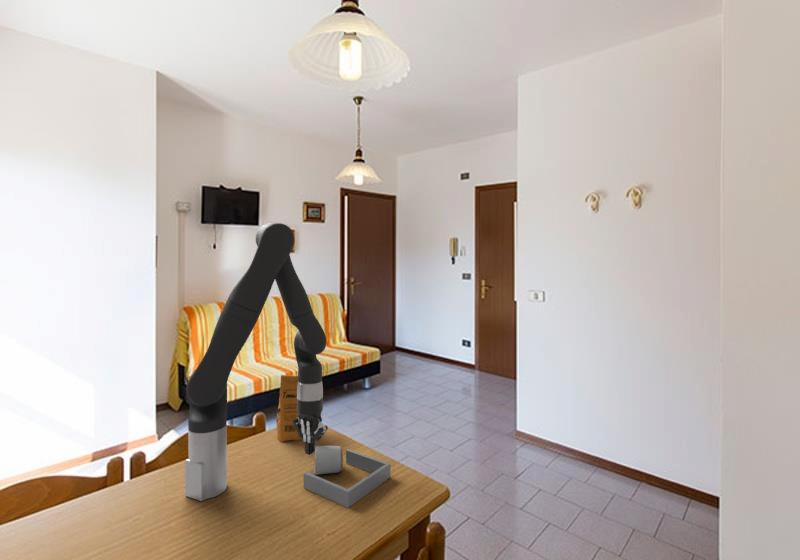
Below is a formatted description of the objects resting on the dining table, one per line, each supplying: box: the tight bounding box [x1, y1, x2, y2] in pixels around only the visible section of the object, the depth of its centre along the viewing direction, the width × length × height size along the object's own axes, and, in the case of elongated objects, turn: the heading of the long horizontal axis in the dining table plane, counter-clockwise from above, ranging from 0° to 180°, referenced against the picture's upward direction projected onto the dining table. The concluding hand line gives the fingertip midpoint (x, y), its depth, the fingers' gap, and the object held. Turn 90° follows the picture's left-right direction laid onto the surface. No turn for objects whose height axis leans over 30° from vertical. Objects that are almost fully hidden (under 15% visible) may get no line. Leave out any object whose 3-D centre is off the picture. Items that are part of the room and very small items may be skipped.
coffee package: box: [276, 374, 304, 443], centre depth 145 cm, size 10×12×22 cm
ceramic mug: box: [313, 445, 344, 476], centre depth 121 cm, size 11×8×8 cm
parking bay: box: [303, 448, 392, 509], centre depth 114 cm, size 18×16×4 cm
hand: (309, 453), depth 123 cm, fingers closed
